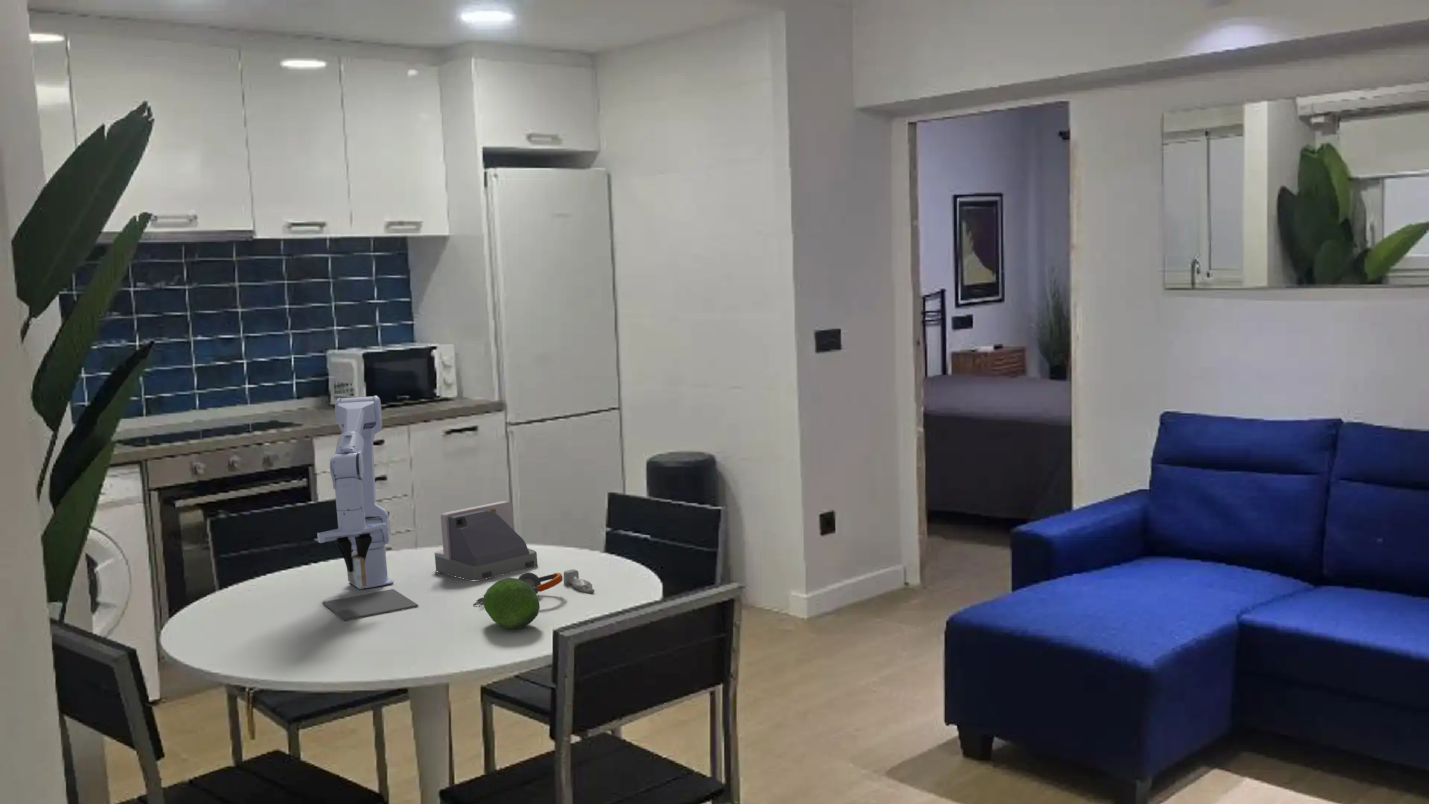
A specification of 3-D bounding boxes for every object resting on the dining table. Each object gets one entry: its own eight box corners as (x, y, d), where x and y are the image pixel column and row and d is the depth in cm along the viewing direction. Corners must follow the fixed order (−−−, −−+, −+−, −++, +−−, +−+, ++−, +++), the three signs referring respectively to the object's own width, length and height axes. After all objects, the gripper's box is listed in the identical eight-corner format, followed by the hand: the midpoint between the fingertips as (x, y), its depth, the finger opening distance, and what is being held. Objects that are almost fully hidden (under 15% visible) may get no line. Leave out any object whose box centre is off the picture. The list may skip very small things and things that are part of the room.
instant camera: (508, 554, 315) (504, 496, 313) (546, 568, 298) (541, 507, 296) (429, 570, 303) (424, 509, 301) (463, 585, 286) (459, 521, 284)
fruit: (473, 623, 253) (469, 575, 252) (518, 613, 258) (514, 566, 257) (503, 639, 240) (499, 588, 239) (549, 628, 246) (546, 579, 245)
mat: (322, 603, 275) (322, 601, 275) (393, 590, 283) (393, 588, 283) (344, 620, 260) (344, 619, 260) (418, 606, 268) (418, 604, 268)
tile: (348, 580, 272) (345, 553, 271) (356, 579, 272) (354, 552, 272) (358, 587, 265) (355, 559, 264) (366, 585, 266) (364, 558, 265)
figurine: (576, 583, 282) (577, 568, 282) (599, 599, 272) (599, 583, 272) (562, 585, 281) (563, 570, 280) (585, 601, 270) (585, 585, 270)
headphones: (488, 577, 280) (569, 557, 275) (495, 600, 280) (576, 580, 276) (458, 598, 264) (543, 577, 259) (465, 622, 264) (550, 601, 259)
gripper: (321, 516, 260) (326, 579, 261) (389, 506, 267) (394, 567, 269) (312, 511, 266) (318, 573, 267) (379, 501, 273) (384, 562, 275)
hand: (355, 570), depth 269 cm, fingers closed on tile, 2 cm apart
